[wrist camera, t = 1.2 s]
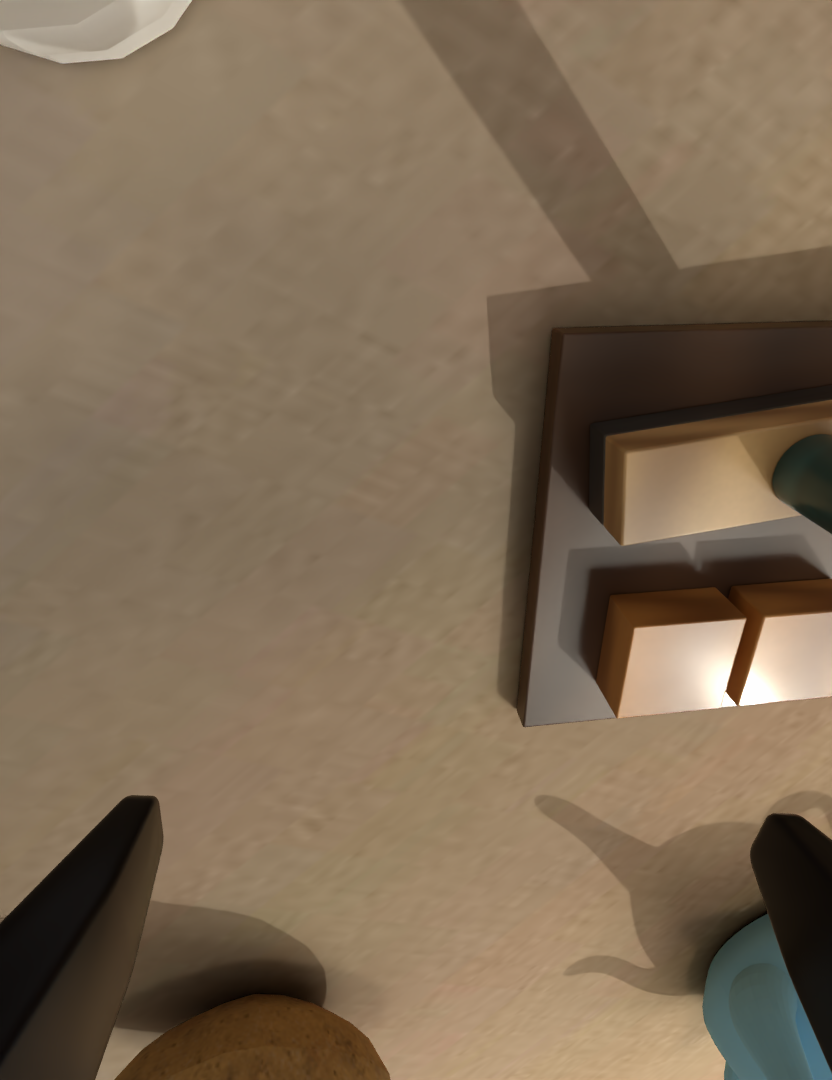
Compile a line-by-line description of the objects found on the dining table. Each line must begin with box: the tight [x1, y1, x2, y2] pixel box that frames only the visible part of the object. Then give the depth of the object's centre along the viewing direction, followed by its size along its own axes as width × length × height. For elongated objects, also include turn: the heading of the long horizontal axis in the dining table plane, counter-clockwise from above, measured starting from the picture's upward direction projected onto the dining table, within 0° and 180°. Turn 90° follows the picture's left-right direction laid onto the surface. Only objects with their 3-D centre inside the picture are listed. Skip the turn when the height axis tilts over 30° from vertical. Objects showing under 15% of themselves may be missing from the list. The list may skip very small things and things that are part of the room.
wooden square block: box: [726, 579, 832, 706], centre depth 23 cm, size 4×4×2 cm
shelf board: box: [517, 321, 832, 727], centre depth 23 cm, size 14×15×1 cm
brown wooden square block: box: [596, 587, 746, 718], centre depth 23 cm, size 4×4×2 cm
